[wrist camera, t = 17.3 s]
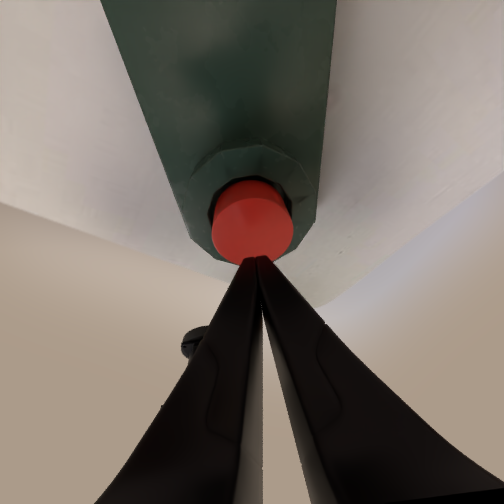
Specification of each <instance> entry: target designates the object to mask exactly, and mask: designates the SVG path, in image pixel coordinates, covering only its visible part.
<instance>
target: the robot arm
mask: <svg viewBox="0 0 504 504" xmlns="http://www.w3.org/2000/svg"><path fill="white" fill-rule="evenodd" d="M255 259H256V260H255ZM261 305H262V306H261ZM262 312H263V317H264V321H265V325H266V329H267V333H268V337H269V341H270V345H271V348H272V353H273V356H274V360H275V364H276V368H277V372H278V376H279V380H280V384H281V387H282V391H283V395H284V399H285V403H286V407H287V411H288V415H289V418H290V423H291V427H292V430H293V434H294V438H295V442H296V446H297V450H298V454H299V458H300V462H301V464H302V469H303V474H304V477H305V481H306V485H307V489H308V493H309V497H310V501H311V504H504V482H503V481H501V480H500V479H499V478H497V477H496V476H494V475H493V474H491V473H490V472H488V471H486V470H485V469H484V468H482V467H481V466H479V465H478V464H476V463H475V462H474V461H472V460H471V459H469V458H468V457H467V456H465V455H464V454H463V453H462V452H460V451H459V450H458V449H456V448H455V447H454V446H452V445H451V444H450V443H449V442H448V441H446V440H445V439H444V438H443V437H442V436H441V435H439V434H438V433H437V432H436V431H435V430H434V429H433V428H432V427H430V425H428V424H427V423H426V422H425V421H424V420H423V419H422V418H421V417H420V416H419V415H418V414H417V413H416V412H415V411H413V410H412V409H411V408H410V407H409V406H408V405H407V404H406V403H405V402H404V401H403V400H402V399H401V398H400V397H399V396H398V395H396V394H395V393H394V392H393V391H392V390H391V389H390V388H389V387H388V386H387V385H386V384H385V383H384V382H383V381H382V380H380V379H379V378H378V377H377V376H376V375H375V374H374V373H373V372H372V371H371V370H370V369H369V368H368V367H367V366H366V365H365V364H364V363H363V362H362V361H361V360H360V359H359V358H358V357H357V356H356V355H355V354H354V353H353V352H351V350H350V349H349V348H348V347H347V346H346V345H345V344H344V343H343V342H342V341H341V339H340V338H338V336H337V335H336V334H335V333H334V332H333V331H332V329H331V328H330V327H329V326H328V325H327V324H325V322H324V320H323V319H322V318H321V317H320V316H319V315H318V314H317V313H316V311H315V310H314V309H313V308H312V307H311V306H310V304H309V303H308V302H307V301H306V300H305V299H304V297H303V296H302V295H301V294H300V293H299V292H298V291H297V289H296V288H295V287H294V286H293V285H292V284H291V283H290V281H289V280H288V279H287V278H286V277H285V276H284V275H283V273H282V272H281V271H280V270H279V269H278V268H277V267H276V265H275V264H274V263H273V262H272V261H271V260H270V259H269V257H268V256H267V255H262V256H256V258H255V257H247V258H244V259H243V261H242V262H241V264H240V266H239V268H238V270H237V272H236V274H235V276H234V278H233V280H232V282H231V284H230V286H229V288H228V290H227V291H226V293H225V295H224V297H223V299H222V301H221V303H220V305H219V307H218V309H217V311H216V313H215V315H214V317H213V319H212V320H211V322H210V324H209V326H208V328H207V330H206V332H205V334H204V336H203V339H200V340H192V341H184V342H182V343H181V348H182V349H183V351H184V352H185V354H186V355H187V356H188V358H189V361H188V366H187V368H186V370H185V371H184V373H183V375H182V376H181V378H180V379H179V381H178V382H177V384H176V386H175V387H174V389H173V391H172V392H171V394H170V395H169V397H168V398H167V400H166V402H165V403H164V405H161V409H160V411H159V412H158V414H157V415H156V417H155V419H154V420H153V422H152V423H151V425H150V426H149V428H148V430H147V431H146V432H145V434H144V436H143V437H142V439H141V440H140V442H139V443H138V445H137V446H136V448H135V449H134V451H133V453H132V454H131V456H130V457H129V459H128V460H127V462H126V463H125V465H124V466H123V468H122V469H121V470H120V472H119V473H118V475H117V476H116V477H115V479H114V480H113V481H112V483H111V484H110V485H109V486H108V488H107V489H106V490H105V491H104V493H103V494H102V495H101V496H100V497H99V498H98V500H97V501H96V502H95V503H94V504H263V491H262V490H263V481H262V480H263V477H262V476H263V470H262V467H263V465H262V464H263V460H262V458H263V455H262V454H263V447H262V446H263V443H262V442H263V440H262V439H263V437H262V436H263V435H262V434H263V432H262V431H263V421H262V420H263V410H262V409H263V402H262V401H263V383H262V382H263V374H262V373H263V363H262V362H263V346H262V345H263V318H262Z"/></svg>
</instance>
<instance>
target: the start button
mask: <svg viewBox="0 0 504 504" xmlns="http://www.w3.org/2000/svg"><path fill="white" fill-rule="evenodd" d="M292 237H293V223H292V220H291V217H290V215H289V213H288V210H287V208H286V206H285V204H284V201H283V199H282V197H281V195H280V194H279V192H278V191H277V190H276V189H275V188H274V187H272V186H271V185H269V184H267V183H265V182H262V181H258V180H243V181H239V182H237V183H234V184H232V185H231V186H229V187H228V188H226V189H225V190H224V191H223V192H222V194H221V195H220V197H219V198H218V200H217V203H216V207H215V213H214V219H213V225H212V240H213V243H214V246H215V248H216V249H217V251H218V252H219V253H220V254H221V255H222V256H223V257H224V258H225V259H227V260H229V261H230V262H233V263H235V264H238V265H240V264H241V262H242V261H243V259H244V258H247V257H255V258H256V256H262V255H267V256H268V257H269V259H270V260H271V261H273V260H275V259H277V258H278V257H279V256H281V255H282V254H283V253H284V252H285V251H286V249H287V248H288V247H289V245H290V243H291V240H292ZM255 260H256V259H255Z"/></svg>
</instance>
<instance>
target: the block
mask: <svg viewBox="0 0 504 504" xmlns="http://www.w3.org/2000/svg"><path fill="white" fill-rule="evenodd" d="M100 1H101V3H102V6H103V9H104V11H105V14H106V17H107V19H108V22H109V25H110V27H111V30H112V32H113V35H114V38H115V40H116V43H117V46H118V48H119V51H120V54H121V56H122V59H123V61H124V64H125V67H126V69H127V72H128V75H129V77H130V80H131V83H132V85H133V88H134V90H135V93H136V96H137V98H138V101H139V104H140V106H141V109H142V112H143V114H144V117H145V120H146V122H147V125H148V127H149V130H150V133H151V135H152V138H153V141H154V143H155V146H156V149H157V151H158V154H159V156H160V159H161V162H162V164H163V167H164V170H165V172H166V175H167V178H168V180H169V183H170V185H171V188H172V191H173V193H174V196H175V199H176V201H177V204H178V207H179V209H180V212H181V214H182V217H183V220H184V222H185V225H186V228H187V230H188V233H189V236H190V238H191V239H192V240H193V241H194V242H195V243H197V244H198V245H199V246H200V247H201V248H203V249H204V250H205V251H206V252H207V253H209V254H210V255H211V256H212V257H213V258H215V259H217V260H220V261H224V262H228V263H232V264H235V263H233V262H230V261H229V260H227V259H225V258H224V257H223V256H222V255H221V254H220V253H219V252H218V251H217V249H216V248H215V246H214V243H213V240H212V225H213V219H214V213H215V207H216V203H217V200H218V198H219V197H220V195H221V194H222V192H223V191H224V190H225V189H226V188H228V187H229V186H231V185H232V184H234V183H237V182H239V181H243V180H258V181H262V182H265V183H267V184H269V185H271V186H272V187H274V188H275V189H276V190H277V191H278V192H279V194H280V195H281V197H282V199H283V201H284V204H285V206H286V208H287V210H288V213H289V215H290V217H291V220H292V223H293V237H292V240H291V243H290V245H289V247H288V248H287V249H286V251H285V252H284V253H283V254H282V255H281V256H279V257H278V258H277V259H279V258H281V257H283V256H284V255H286V254H288V253H290V252H291V251H293V250H295V249H296V248H297V247H298V245H299V244H300V242H301V241H302V239H303V238H304V237H305V235H306V234H307V232H308V231H309V229H310V228H311V227H312V225H313V223H315V219H316V209H317V199H318V189H319V178H320V168H321V158H322V148H323V138H324V127H325V117H326V107H327V97H328V86H329V76H330V66H331V56H332V46H333V35H334V25H335V15H336V5H337V0H100ZM277 259H275V260H273V261H272V262H274V261H276V260H277ZM235 265H238V264H235ZM239 266H240V265H239Z"/></svg>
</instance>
